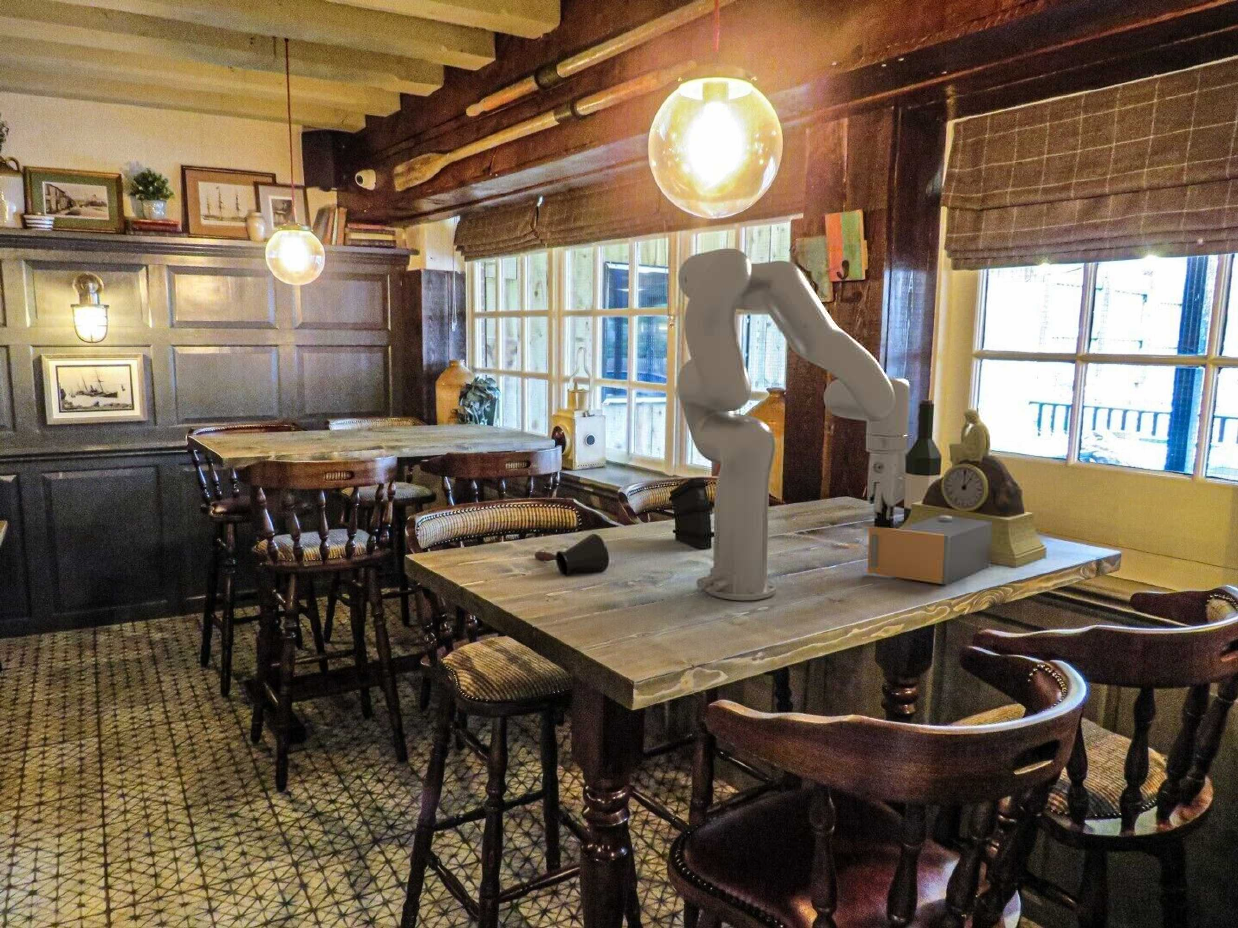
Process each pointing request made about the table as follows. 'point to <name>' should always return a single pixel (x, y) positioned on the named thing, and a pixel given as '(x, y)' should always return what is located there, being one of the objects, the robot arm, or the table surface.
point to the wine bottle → (921, 460)
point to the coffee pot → (580, 556)
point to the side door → (908, 554)
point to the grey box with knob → (960, 543)
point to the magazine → (692, 514)
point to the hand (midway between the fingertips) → (883, 538)
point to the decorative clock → (982, 497)
